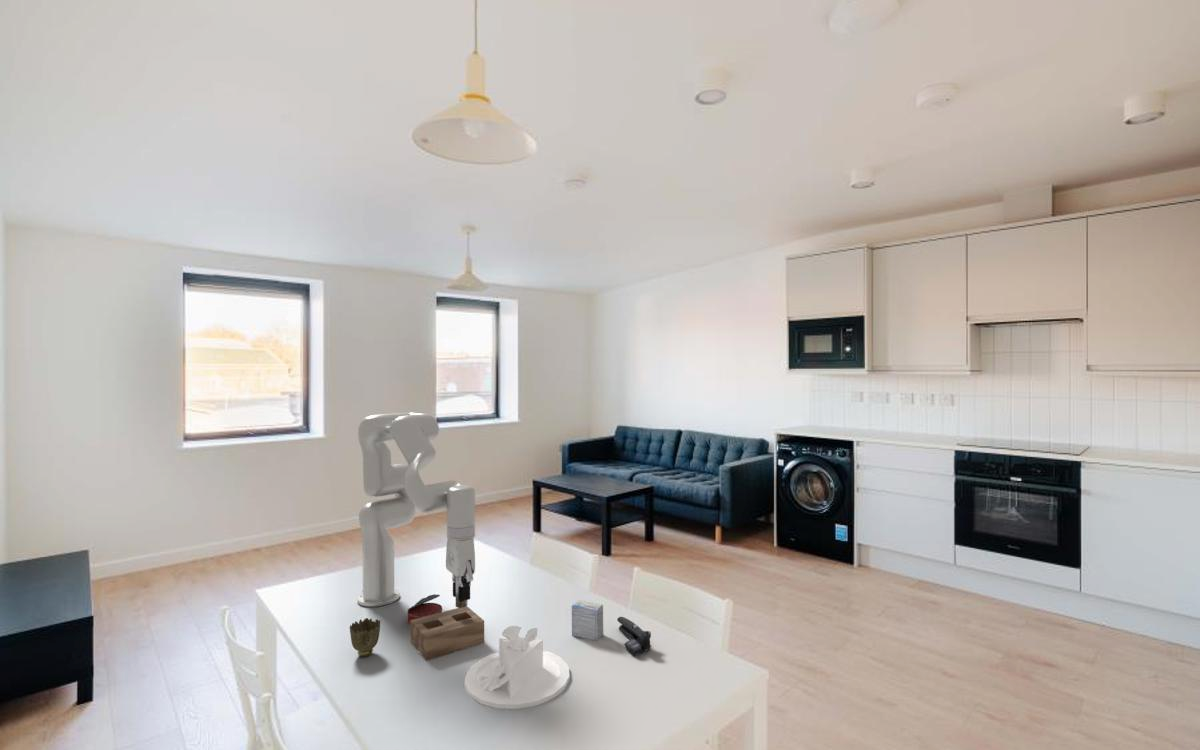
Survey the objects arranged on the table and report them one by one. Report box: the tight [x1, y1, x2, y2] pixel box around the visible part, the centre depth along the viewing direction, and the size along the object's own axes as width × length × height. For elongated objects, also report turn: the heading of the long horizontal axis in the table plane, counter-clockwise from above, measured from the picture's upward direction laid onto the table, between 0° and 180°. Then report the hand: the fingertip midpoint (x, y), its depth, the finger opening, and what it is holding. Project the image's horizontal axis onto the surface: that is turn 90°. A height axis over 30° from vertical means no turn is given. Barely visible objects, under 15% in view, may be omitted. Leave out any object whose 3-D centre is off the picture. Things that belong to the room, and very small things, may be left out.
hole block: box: [410, 605, 485, 661], centre depth 155 cm, size 12×16×6 cm
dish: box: [463, 625, 571, 710], centre depth 137 cm, size 25×25×11 cm
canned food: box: [406, 593, 443, 626], centre depth 169 cm, size 11×10×10 cm
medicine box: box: [571, 599, 604, 642], centre depth 159 cm, size 8×4×9 cm, turn 65°
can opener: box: [617, 616, 652, 656], centre depth 156 cm, size 18×7×6 cm, turn 18°
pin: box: [455, 572, 469, 608], centre depth 157 cm, size 3×3×9 cm
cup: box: [348, 617, 381, 658], centre depth 148 cm, size 8×7×8 cm
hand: (461, 597), depth 157 cm, fingers closed on pin, 3 cm apart
